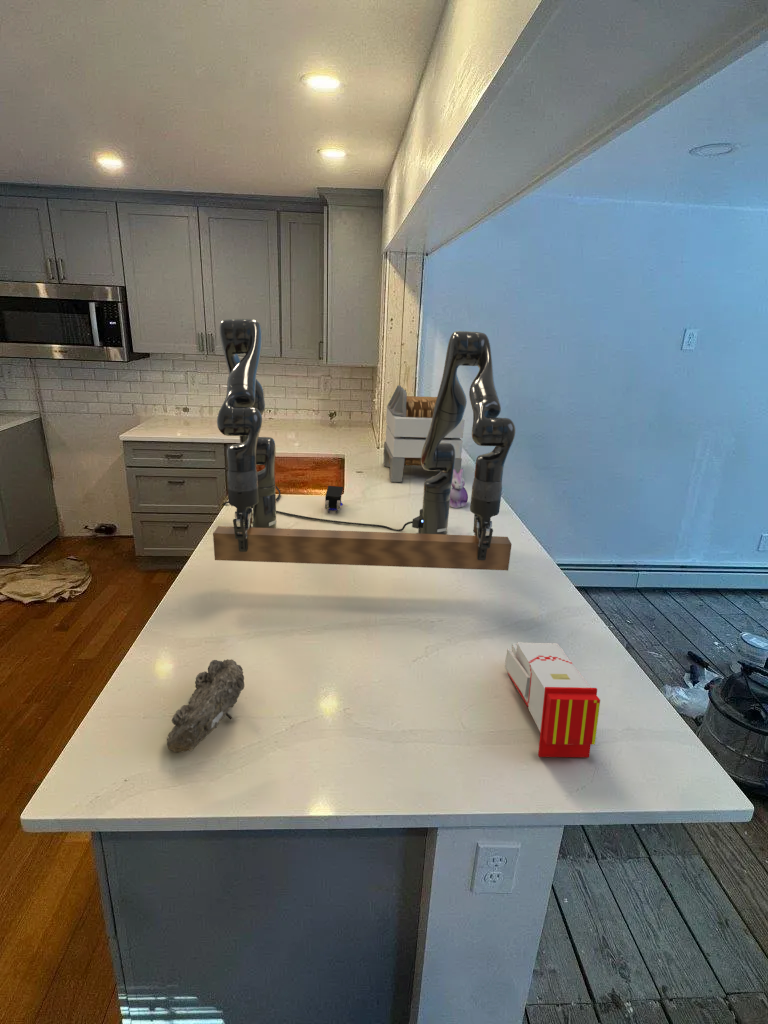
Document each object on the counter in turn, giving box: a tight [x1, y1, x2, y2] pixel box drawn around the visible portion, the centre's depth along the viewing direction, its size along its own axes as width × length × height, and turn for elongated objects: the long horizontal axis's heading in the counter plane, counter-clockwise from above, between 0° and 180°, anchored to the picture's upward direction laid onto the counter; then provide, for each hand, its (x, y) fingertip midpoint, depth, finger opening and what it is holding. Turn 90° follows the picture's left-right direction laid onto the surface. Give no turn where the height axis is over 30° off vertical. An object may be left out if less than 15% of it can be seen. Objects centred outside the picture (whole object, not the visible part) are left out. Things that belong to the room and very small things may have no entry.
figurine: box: [449, 468, 469, 509], centre depth 230 cm, size 9×10×15 cm
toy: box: [504, 642, 601, 758], centre depth 113 cm, size 12×13×30 cm
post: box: [212, 525, 512, 571], centre depth 150 cm, size 77×5×8 cm, turn 91°
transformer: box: [383, 384, 465, 483], centre depth 268 cm, size 34×33×41 cm
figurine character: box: [324, 485, 344, 514], centre depth 220 cm, size 7×8×15 cm
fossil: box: [166, 658, 245, 754], centre depth 106 cm, size 22×10×15 cm
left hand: (245, 546), depth 150 cm, fingers closed on post, 5 cm apart
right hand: (479, 555), depth 151 cm, fingers closed on post, 5 cm apart
